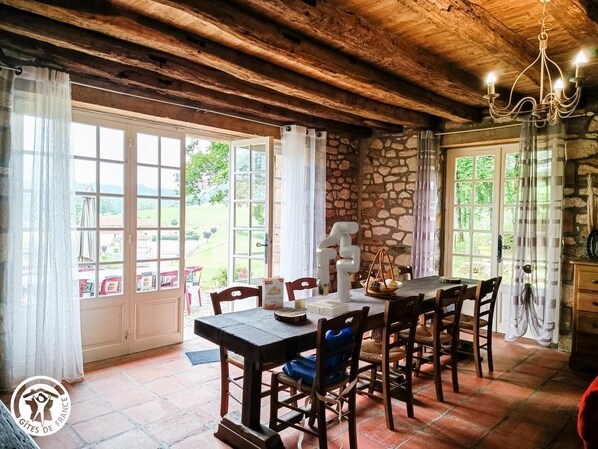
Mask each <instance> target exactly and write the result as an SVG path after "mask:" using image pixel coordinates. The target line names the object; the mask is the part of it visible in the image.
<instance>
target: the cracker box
mask: <svg viewBox="0 0 598 449" xmlns="http://www.w3.org/2000/svg"><path fill="white" fill-rule="evenodd" d="M284 281H285V278H284V277H280V276H279V277H263V278H262V297H261V298H262V302H261V304H262V306H261V308H263V310H271V309H272V310H273V309H281V308H280V307H283V308H284V295H285V294H284V293H285V292H284V290H285V288H284V287H285V286H284V285H285V282H284Z"/></svg>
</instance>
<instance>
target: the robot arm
mask: <svg viewBox="0 0 598 449" xmlns="http://www.w3.org/2000/svg"><path fill="white" fill-rule="evenodd" d="M358 231H359V224H358V223H357V222H356V221H337V222H335V223H334V224H333V226H332V228H331V230H330V233H329V236H327V237H325V238H324V239H323V240H322V241H320V242H319V244H318V246H317V248H316V252H315V255H316V258H317V271H316V282H315V283H316V286H317V290H318V289H319V295H323V289H322V288H323V286H328V287H329V286H330V283H331V281H330V279H331V278H330V260H334V259H336V257H337V255H338V254H337V253H338V252H337V250H336V249H335V248H331V246H334V245H337V244H338V243H339V256H340V257H342V259H338V260H337V261H336V263H335V266H336V272H337V274H336V275H337V281H336V282H337V284H336V285H337V290H336V293H337V295H336V298H335V300H334V301H340V302H345V303H350V302H352V301H353V299H352V298H351V297H353V295H352V294H351V278H350V275H349V273H353V274H354V273H355V274H356V273H358V272H359V271H360V264H361V263H360V262H361V249H360V247H359V246H358V245H354V244H353V245H352V237H351V236H350V234H351V235H352V234H356V233H357V232H358ZM329 247H330V248H329ZM345 258H346V259H345ZM347 258H348V259H347ZM349 258H350V259H349ZM319 295H318V296H319Z"/></svg>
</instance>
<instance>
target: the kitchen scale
mask: <svg viewBox="0 0 598 449" xmlns="http://www.w3.org/2000/svg"><path fill="white" fill-rule="evenodd" d="M349 305H350V304H349V302H340V301H335V300H333V299H326V298H324V299H320V300H317V301H313V302H311V303H309V304H306V306H307V309H306V310H307V311H306V312H307V313H310V314H311V313H312V314H316V315H323V316H328V317H335V316H338V315H341V314H344V313H347V312H349V308H350V307H349Z"/></svg>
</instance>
